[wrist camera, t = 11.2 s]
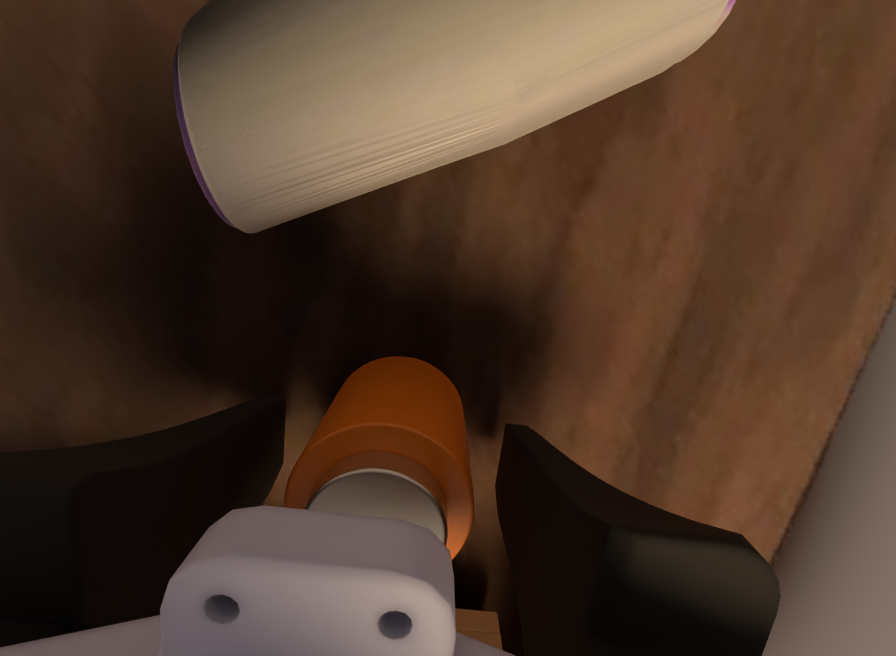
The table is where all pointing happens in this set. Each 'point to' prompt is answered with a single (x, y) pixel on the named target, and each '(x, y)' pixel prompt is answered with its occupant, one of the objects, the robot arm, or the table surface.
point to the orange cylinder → (391, 451)
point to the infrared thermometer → (397, 86)
